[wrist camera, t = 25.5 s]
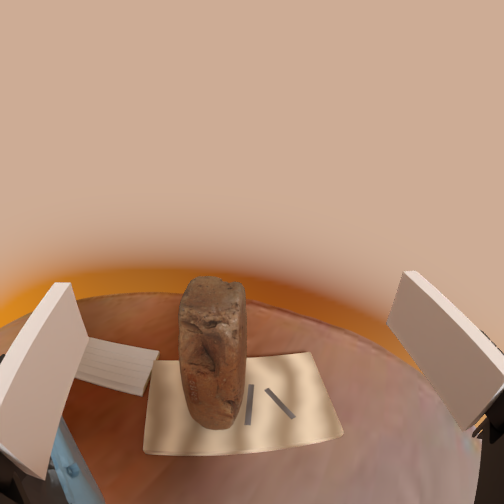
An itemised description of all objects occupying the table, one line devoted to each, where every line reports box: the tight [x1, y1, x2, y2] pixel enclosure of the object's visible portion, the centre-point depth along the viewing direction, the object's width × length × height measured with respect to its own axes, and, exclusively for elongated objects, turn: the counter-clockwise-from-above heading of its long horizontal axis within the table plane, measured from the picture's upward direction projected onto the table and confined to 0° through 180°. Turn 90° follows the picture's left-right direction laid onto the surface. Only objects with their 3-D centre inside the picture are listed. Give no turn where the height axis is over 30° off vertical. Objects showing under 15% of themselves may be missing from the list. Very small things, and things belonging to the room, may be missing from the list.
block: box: [178, 276, 247, 430], centre depth 34 cm, size 11×8×20 cm
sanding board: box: [143, 352, 344, 456], centre depth 40 cm, size 28×18×2 cm, turn 98°
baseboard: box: [74, 337, 160, 397], centre depth 44 cm, size 31×3×12 cm
